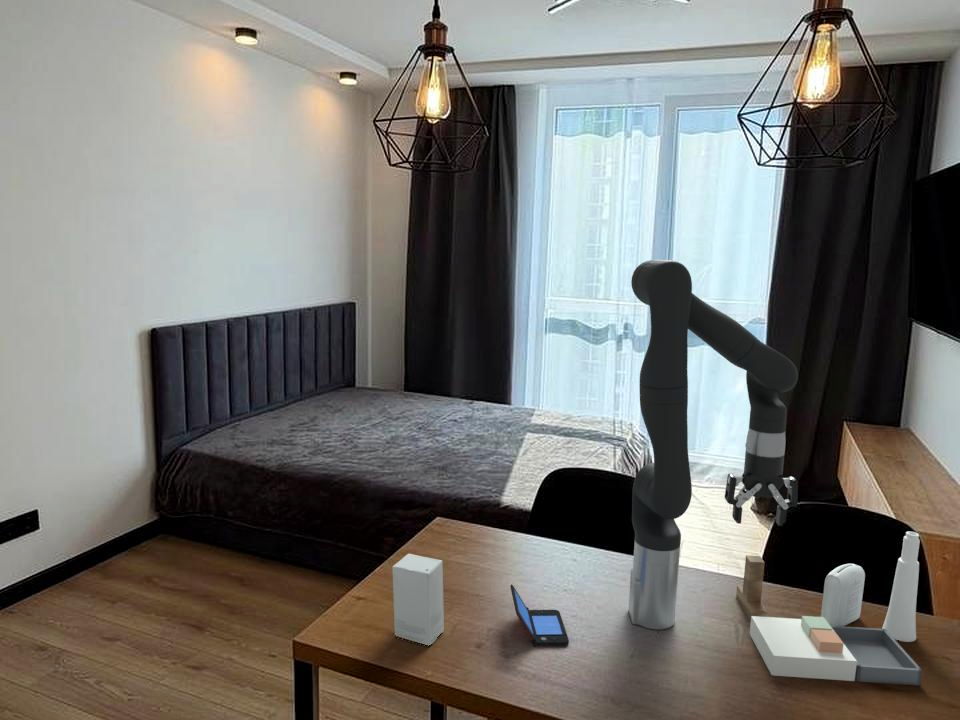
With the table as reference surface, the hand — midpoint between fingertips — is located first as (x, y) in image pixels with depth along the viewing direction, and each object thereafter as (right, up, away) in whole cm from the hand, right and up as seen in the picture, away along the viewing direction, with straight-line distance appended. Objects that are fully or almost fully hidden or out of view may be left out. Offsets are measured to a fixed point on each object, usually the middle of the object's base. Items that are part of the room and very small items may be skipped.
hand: (758, 523), depth 146 cm
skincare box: (-72, -21, -9) cm, 75 cm away
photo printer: (+17, -21, 0) cm, 27 cm away
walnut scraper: (0, -20, +3) cm, 20 cm away
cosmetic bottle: (+27, -22, -5) cm, 35 cm away
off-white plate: (+3, -23, -13) cm, 26 cm away
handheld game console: (-47, -21, -6) cm, 52 cm away
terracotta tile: (+6, -19, -16) cm, 26 cm away
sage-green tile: (+6, -18, -12) cm, 23 cm away
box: (+16, -23, -14) cm, 31 cm away
